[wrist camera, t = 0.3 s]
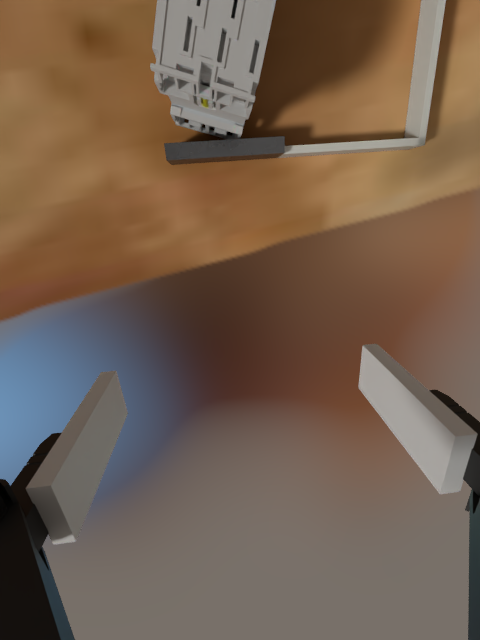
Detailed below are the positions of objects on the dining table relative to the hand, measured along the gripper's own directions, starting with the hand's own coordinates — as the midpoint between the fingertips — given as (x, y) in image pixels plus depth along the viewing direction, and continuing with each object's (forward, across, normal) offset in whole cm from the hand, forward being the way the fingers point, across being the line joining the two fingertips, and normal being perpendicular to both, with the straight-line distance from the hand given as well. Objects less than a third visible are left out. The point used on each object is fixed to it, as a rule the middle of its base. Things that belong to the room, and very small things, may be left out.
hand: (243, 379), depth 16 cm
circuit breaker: (+28, +2, +23) cm, 36 cm away
